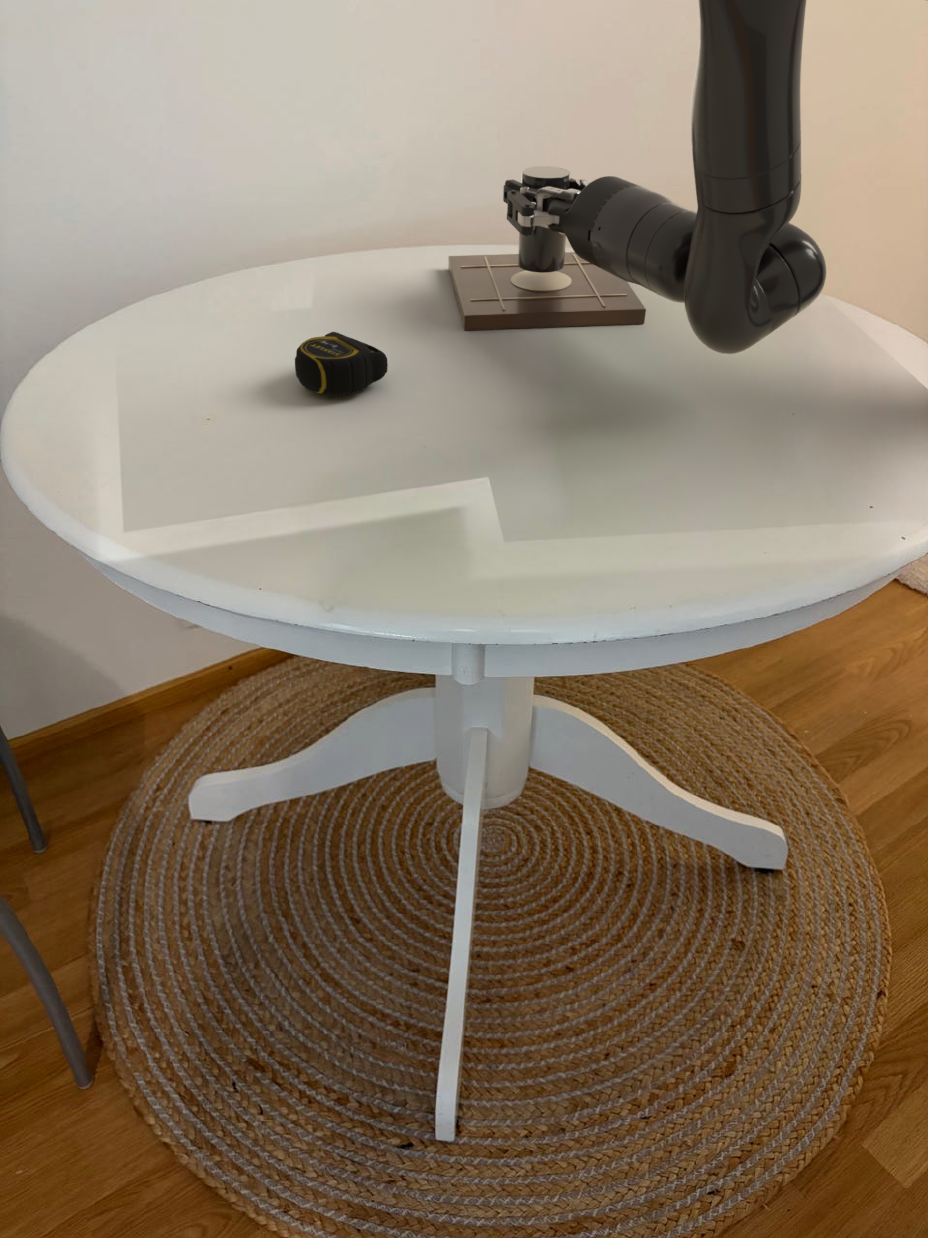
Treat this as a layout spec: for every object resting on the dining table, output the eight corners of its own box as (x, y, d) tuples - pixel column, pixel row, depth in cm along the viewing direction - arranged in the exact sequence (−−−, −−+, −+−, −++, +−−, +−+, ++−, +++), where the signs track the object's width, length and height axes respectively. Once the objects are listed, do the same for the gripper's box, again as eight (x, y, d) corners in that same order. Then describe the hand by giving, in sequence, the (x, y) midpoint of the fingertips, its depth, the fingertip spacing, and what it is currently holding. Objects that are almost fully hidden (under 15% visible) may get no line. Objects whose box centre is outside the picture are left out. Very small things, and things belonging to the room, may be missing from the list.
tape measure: (392, 386, 83) (391, 345, 81) (332, 412, 79) (329, 369, 77) (341, 364, 87) (338, 324, 85) (281, 387, 83) (276, 346, 81)
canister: (559, 257, 101) (565, 165, 96) (568, 272, 97) (574, 177, 92) (514, 258, 101) (518, 166, 95) (521, 273, 97) (525, 178, 91)
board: (605, 264, 109) (606, 249, 108) (644, 323, 95) (646, 308, 94) (448, 269, 107) (448, 254, 106) (464, 330, 93) (464, 314, 92)
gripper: (699, 177, 85) (592, 139, 97) (563, 197, 80) (468, 154, 92) (687, 262, 90) (586, 216, 101) (558, 286, 84) (468, 235, 96)
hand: (531, 187), depth 96 cm, fingers closed on canister, 4 cm apart
